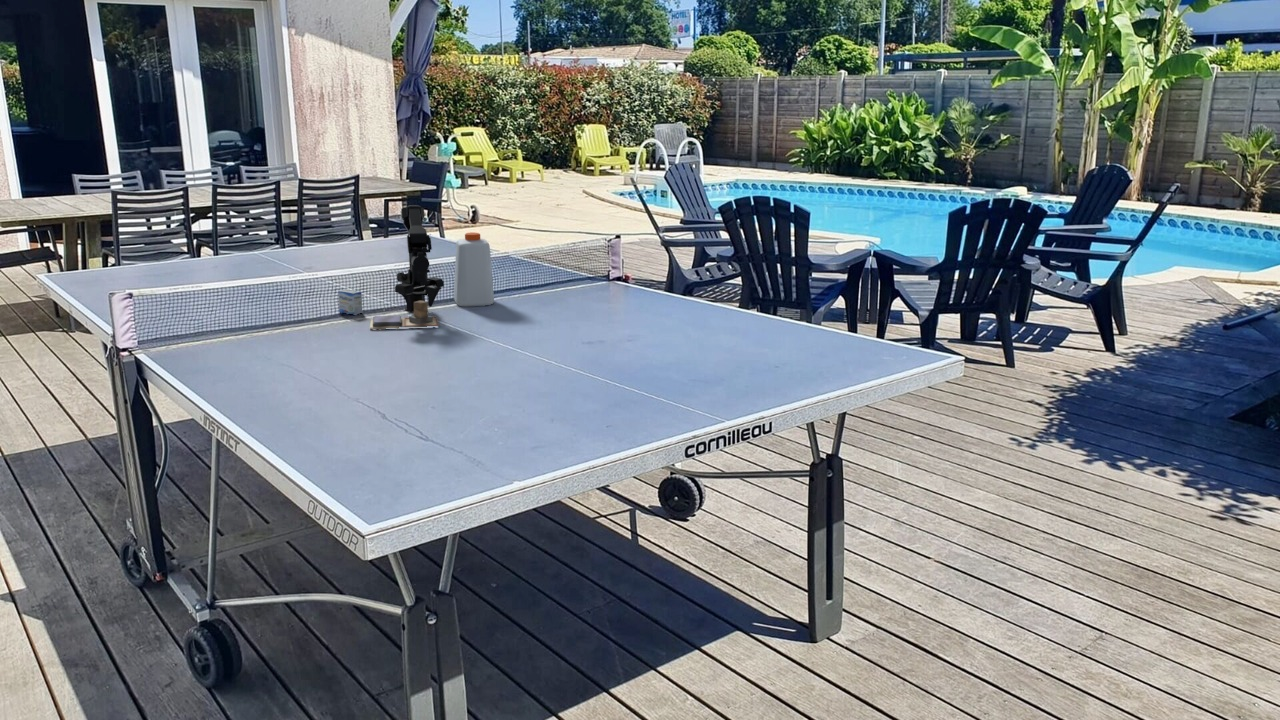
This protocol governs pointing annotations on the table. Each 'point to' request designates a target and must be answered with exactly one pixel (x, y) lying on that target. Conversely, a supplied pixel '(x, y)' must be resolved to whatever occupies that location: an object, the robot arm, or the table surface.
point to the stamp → (420, 313)
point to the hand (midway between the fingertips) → (420, 308)
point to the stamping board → (396, 322)
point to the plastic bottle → (473, 272)
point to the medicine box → (350, 301)
